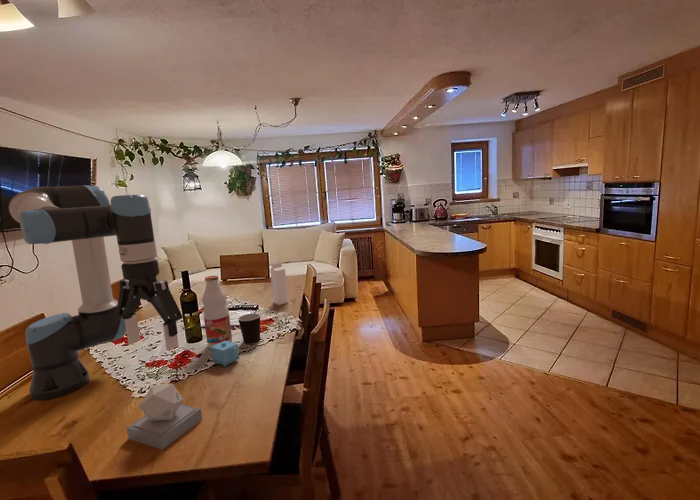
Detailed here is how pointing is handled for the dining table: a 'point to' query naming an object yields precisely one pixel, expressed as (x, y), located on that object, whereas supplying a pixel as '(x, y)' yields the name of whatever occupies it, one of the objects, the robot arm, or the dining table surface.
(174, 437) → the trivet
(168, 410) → the die
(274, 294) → the milk
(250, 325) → the black cup
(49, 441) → the dining table surface
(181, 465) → the dining table surface
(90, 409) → the dining table surface
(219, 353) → the blue spouted cube
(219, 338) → the fruit juice
